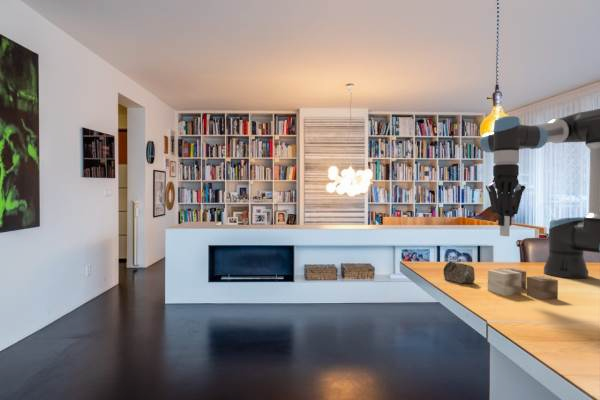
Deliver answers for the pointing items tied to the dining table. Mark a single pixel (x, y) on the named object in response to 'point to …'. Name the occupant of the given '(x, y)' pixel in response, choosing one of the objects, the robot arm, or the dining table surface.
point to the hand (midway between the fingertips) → (504, 235)
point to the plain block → (504, 282)
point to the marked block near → (523, 281)
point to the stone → (459, 272)
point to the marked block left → (542, 288)
